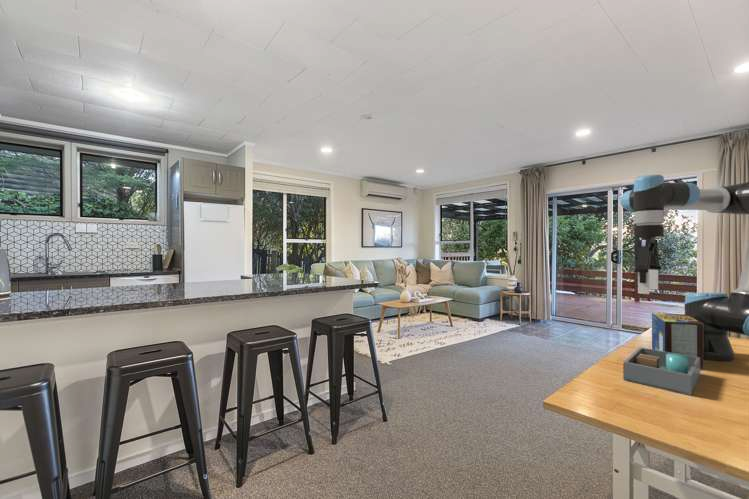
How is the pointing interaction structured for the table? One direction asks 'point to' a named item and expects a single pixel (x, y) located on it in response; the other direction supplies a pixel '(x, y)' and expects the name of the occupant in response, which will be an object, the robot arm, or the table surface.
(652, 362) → the walnut cube
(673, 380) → the tote
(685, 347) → the protein box
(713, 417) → the table surface
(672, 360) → the teal cylinder
